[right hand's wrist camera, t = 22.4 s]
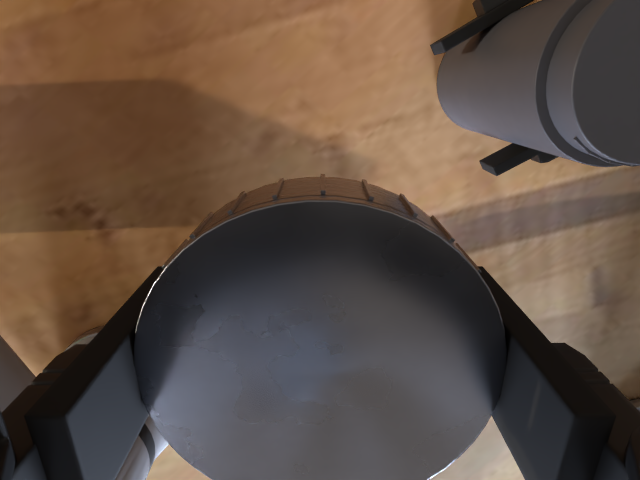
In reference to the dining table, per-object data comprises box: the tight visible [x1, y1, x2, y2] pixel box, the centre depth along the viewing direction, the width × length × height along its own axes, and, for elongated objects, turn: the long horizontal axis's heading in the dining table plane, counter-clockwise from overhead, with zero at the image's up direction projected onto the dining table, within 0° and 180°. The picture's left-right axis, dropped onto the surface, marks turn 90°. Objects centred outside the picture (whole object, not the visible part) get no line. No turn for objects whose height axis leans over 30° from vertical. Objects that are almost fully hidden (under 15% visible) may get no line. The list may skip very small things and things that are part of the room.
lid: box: [134, 174, 507, 480], centre depth 11 cm, size 10×10×2 cm
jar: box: [437, 0, 640, 167], centre depth 26 cm, size 9×9×19 cm
